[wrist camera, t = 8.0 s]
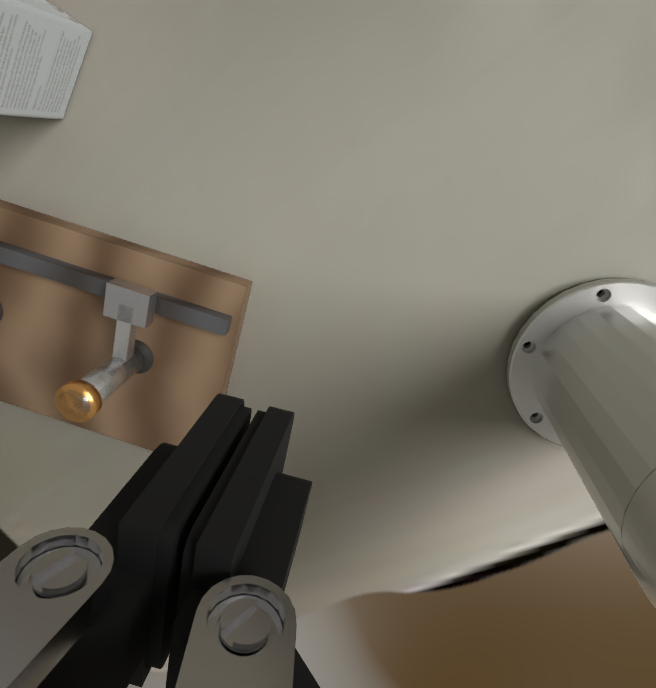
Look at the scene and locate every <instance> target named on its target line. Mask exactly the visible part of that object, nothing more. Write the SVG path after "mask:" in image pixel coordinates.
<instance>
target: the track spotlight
mask: <svg viewBox="0 0 656 688" xmlns="http://www.w3.org/2000/svg"><path fill="white" fill-rule="evenodd" d="M157 295H158V291H155V290H152V289H149V288H146V287H143V286H140V285H137V284H134V283H131V282H127V281H124V280H121V279H118V278H115V279H113V280H111V281H108V282H107V283H106V292H105V301H104V310H103V315H104V316H107V317H110V318H113V319H116V320H117V323H116V331H115V339H114V348H113V356H112V357H110V358H109V359H107V360H106V361H105V362H103V363H102V364H101V365H99V366H98V367H97V368H95V369H94V370H92V371H91V372H90V373H88V374H87V375H86V376H84V377H83V378H81V379H80V380H79V379H76V380H71V381H69V382H68V383H66V384H65V385H63V386H62V387H61V388H59V389H58V390H57V392H56V394H55V404H56V407H57V409H58V410H59V412H60V413H61V414H62V415H63V416H64V417H65V418H67V419H69V420H71V421H73V422H78V423H83V422H87V421H89V420H90V419H91V418H92V417H94V416H95V415H96V414H97V413H98V412H99V411H100V409H101V407H102V402H103V401H105V400H106V399H107V398H108V397H109V396H110V395H111V394H113V393H114V392H115V391H116V390H117V389H118V388H120V387H121V386H122V385H123V384H124V383H125V382H126V381H128V380H129V379H130V378H131V377H132V376H133V375H135V374H136V373H137V372H138V371H139V370H140V369H142V367H143V366H144V363H145V359H144V356H143V354H142V353H141V352H140V351H139V350H138V349H137V348H135V347H134V345H135V338H136V331H137V326H138V327H141V328H144V329H145V328H147V327H148V326H150V325H151V324H152V323H153V320H154V314H155V307H156V301H157Z"/></svg>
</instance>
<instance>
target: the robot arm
mask: <svg viewBox="0 0 656 688" xmlns="http://www.w3.org/2000/svg"><path fill="white" fill-rule="evenodd" d="M601 289H602V293H601V294H599V295H596V294H597V292H598V291H599V290H601ZM528 341H529V344H528V345H526V346H524V343H526V342H528ZM507 381H508V389H509V392H510V395H511V397H512V400H513V403H514V405H515V407H516V408H517V410H518V412H519V414H520V416H521V417H522V418H523V420H524V421H525V422H526V424H527V425H528V426H529V427H531V428H532V429H533V430H534V431H536V432H537V433H538V434H539V435H540V436H542V437H544V438H546V439H548V440H549V441H551V442H553V443H555V444H558V445H561V446H563V447H564V449H565V451H566V452H567V454H568V456H569V458H570V460H571V462H572V463H573V465H574V467H575V469H576V471H577V472H578V474H579V476H580V478H581V480H582V481H583V483H584V485H585V487H586V489H587V491H588V492H589V494H590V496H591V498H592V500H593V501H594V503H595V505H596V507H597V509H598V510H599V512H600V514H601V516H602V518H603V519H604V521H605V523H606V525H607V527H608V529H609V530H610V532H611V534H612V536H613V538H614V539H615V541H616V543H617V545H618V547H619V548H620V550H621V552H622V554H623V556H624V557H625V559H626V561H627V563H628V564H629V567H630V568H631V569H632V571H633V573H634V575H635V576H636V578H637V580H638V582H639V584H640V585H641V587H642V589H643V590H644V592H645V593H646V595H647V597H648V598H649V600H650V601H651V603H652V604H653V605H654V607H655V608H656V285H655V284H652V283H649V282H646V281H643V280H636V279H628V278H612V279H600V280H596V281H592V282H587V283H583V284H580V285H578V286H575V287H573V288H570V289H568V290H565V291H563V292H562V293H560V294H558V295H557V296H555V297H554V298H552V299H550V300H549V301H547V302H546V303H545V304H544V305H542V306H541V307H540V308H539V309H538V310H537V311H535V312H534V313H533V314H532V315H531V317H530V318H529V319H528V320H527V321H526V323H525V324H524V325H523V326H522V328H521V329H520V331H519V333H518V335H517V337H516V338H515V340H514V342H513V344H512V348H511V351H510V354H509V357H508V364H507ZM533 413H535V414H533ZM250 419H251V408H248V407H244V400H243V399H240V398H236V397H232V396H228V395H224V394H220V393H218V394H217V395H216V396H215V398H214V399H213V400H212V402H211V403H210V404H209V406H208V407H207V408H206V409H205V411H204V412H203V413H202V415H201V416H200V417H199V419H198V420H197V421H196V422H195V424H194V425H193V426H192V428H191V429H190V430H189V432H188V433H187V434H186V436H185V437H184V438H183V439H182V441H181V442H180V443H179V445H178V446H176V445H172V444H169V443H165V442H164V443H161V444H160V445H159V446H158V447H157V448H156V449H155V450H154V451H153V453H152V454H151V455H150V456H149V457H148V459H147V460H146V461H145V462H144V463H143V465H142V466H141V467H140V468H139V469H138V471H137V472H136V473H135V474H134V475H133V477H132V478H131V479H130V480H129V481H128V483H127V484H126V485H125V486H124V487H123V489H122V490H121V491H120V492H119V493H118V495H117V496H116V497H115V498H114V499H113V501H112V502H111V503H110V504H109V505H108V507H107V508H106V509H105V510H104V511H103V513H102V514H101V515H100V516H99V517H98V519H97V520H96V521H95V522H94V523H93V525H92V526H91V527H90V528H89V529H85V528H70V527H66V528H61V529H56V530H50V531H48V532H45V533H43V534H40V535H38V536H35V537H33V538H32V539H30V540H29V541H27V542H26V543H24V544H22V545H21V546H20V547H18V548H17V549H16V550H15V551H13V552H12V553H11V554H10V555H9V556H7V557H6V558H5V559H4V560H2V561H1V562H0V688H127V687H128V685H129V684H132V685H135V686H139V687H142V685H143V683H144V681H145V679H146V677H147V675H148V673H149V671H150V669H151V667H155V668H158V669H161V668H162V667H163V665H164V664H165V662H166V660H167V658H168V655H169V653H170V655H169V663H168V672H167V681H166V688H320V687H319V685H318V684H317V682H316V680H315V679H314V677H313V675H312V674H311V672H310V671H309V669H308V667H307V666H306V664H305V663H304V661H303V660H302V658H301V656H300V655H299V653H298V652H297V650H296V648H295V641H296V615H295V609H294V607H293V605H292V603H291V600H290V598H289V597H288V596H287V594H286V593H285V592H284V590H285V587H286V583H287V579H288V576H289V572H290V568H291V565H292V561H293V557H294V554H295V550H296V546H297V542H298V538H299V535H300V531H301V527H302V523H303V519H304V515H305V511H306V507H307V502H308V498H309V494H310V490H311V486H312V482H311V481H308V480H304V479H300V478H296V477H293V476H289V475H285V474H282V472H283V467H284V463H285V458H286V453H287V448H288V443H289V439H290V434H291V429H292V424H293V419H294V412H290V411H286V410H282V409H278V408H274V407H271V406H270V407H269V408H268V409H267V411H266V412H263V411H259V410H258V411H257V413H256V415H255V416H254V418H253V420H252V422H251V423H250Z"/></svg>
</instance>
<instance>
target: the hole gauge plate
mask: <svg viewBox="0 0 656 688" xmlns="http://www.w3.org/2000/svg"><path fill="white" fill-rule="evenodd" d="M115 278H118V279H121V280H124V281H127V282H131V283H134V284H137V285H140V286H143V287H146V288H149V289H152V290H155V291H158V295H157V301H156V307H155V314H154V320H153V323H152V324H151V325H150V326H148V327H147V328H145V329H144V328H141V327H138V326H137V331H136V338H135V345H134V347H135V348H137V349H138V350H139V351H140V352H141V353H142V354H143V356H144V359H145V363H144V366H143V367H142V369H140V370H139V371H138V372H137V373H136V374H135V375H133V376H132V377H131V378H130V379H129V380H128V381H126V382H125V383H124V384H123V385H122V386H121V387H120V388H118V389H117V390H116V391H115V392H114V393H113V394H111V395H110V396H109V397H108V398H107V399H106V400H105V401H103V402H102V407H101V409H100V411H99V412H98V413H97V414H96V415H95V416H94V417H92V418H91V419H90V420H89V421H87V422H83V423H78V422H73V421H71V420H69V419H67V418H65V417H64V416H63V415H62V414H61V413H60V412H59V410H58V409H57V407H56V404H55V394H56V392H57V390H58V389H59V388H61V387H62V386H63V385H65V384H66V383H68V382H69V381H71V380H76V379H79V380H80V379H81V378H83V377H84V376H86V375H87V374H88V373H90V372H91V371H92V370H94V369H95V368H97V367H98V366H99V365H101V364H102V363H103V362H105V361H106V360H107V359H109V358H110V357H112V356H113V348H114V339H115V331H116V323H117V320H116V319H113V318H110V317H107V316H104V315H103V310H104V301H105V292H106V283H107V282H108V281H111V280H113V279H115ZM251 286H252V281H249V280H246V279H243V278H240V277H237V276H234V275H231V274H228V273H225V272H221V271H218V270H215V269H212V268H209V267H206V266H203V265H200V264H197V263H194V262H191V261H187V260H184V259H181V258H178V257H175V256H172V255H169V254H166V253H163V252H160V251H157V250H154V249H150V248H147V247H144V246H141V245H138V244H135V243H132V242H129V241H126V240H123V239H120V238H116V237H113V236H110V235H107V234H104V233H101V232H98V231H95V230H92V229H89V228H86V227H83V226H79V225H76V224H73V223H70V222H67V221H64V220H61V219H58V218H55V217H52V216H49V215H45V214H42V213H39V212H36V211H33V210H30V209H27V208H24V207H21V206H18V205H15V204H11V203H8V202H5V201H2V200H0V401H3V402H6V403H10V404H13V405H16V406H19V407H22V408H25V409H28V410H31V411H34V412H37V413H40V414H43V415H46V416H49V417H52V418H55V419H58V420H61V421H64V422H67V423H70V424H73V425H76V426H79V427H83V428H86V429H89V430H92V431H95V432H98V433H101V434H104V435H107V436H110V437H113V438H116V439H119V440H122V441H125V442H128V443H131V444H134V445H137V446H140V447H143V448H146V449H149V450H153V451H154V450H155V449H156V448H157V447H158V446H159V445H160V444H161V443H164V442H165V443H169V444H172V445H176V446H178V445H179V443H180V442H181V441H182V439H183V438H184V437H185V436H186V434H187V433H188V432H189V430H190V429H191V428H192V426H193V425H194V424H195V422H196V421H197V420H198V419H199V417H200V416H201V415H202V413H203V412H204V411H205V409H206V408H207V407H208V406H209V404H210V403H211V402H212V400H213V399H214V398H215V396H216V395H217V394H218V393H220V394H224V395H226V391H227V387H228V383H229V379H230V374H231V370H232V366H233V362H234V358H235V353H236V349H237V345H238V341H239V336H240V332H241V328H242V324H243V320H244V315H245V311H246V307H247V303H248V298H249V294H250V290H251Z"/></svg>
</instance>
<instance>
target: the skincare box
mask: <svg viewBox="0 0 656 688" xmlns="http://www.w3.org/2000/svg"><path fill="white" fill-rule="evenodd" d="M91 36H92V32H91V31H90V30H89V29H87V28H86V27H84V26H83V25H81V24H80V23H78V22H77V21H76V20H74V19H73V18H71V17H70V16H69V15H67V14H66V13H64V12H63V11H61V10H59V9H58V8H56V7H55V6H53V5H52V4H50V3H49V2H47V1H46V0H0V115H7V116H20V117H33V118H46V119H63V117H64V114H65V111H66V108H67V105H68V102H69V99H70V96H71V93H72V91H73V88H74V85H75V82H76V79H77V76H78V73H79V70H80V67H81V64H82V61H83V58H84V56H85V53H86V50H87V47H88V44H89V41H90V38H91Z"/></svg>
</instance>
